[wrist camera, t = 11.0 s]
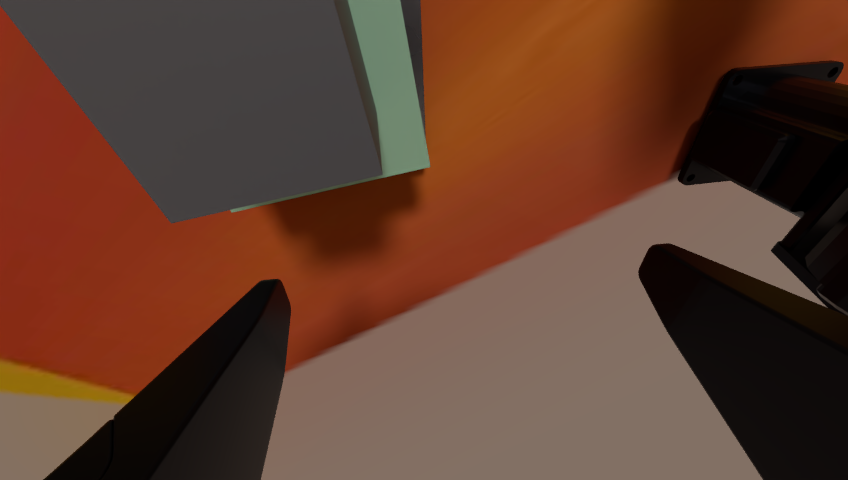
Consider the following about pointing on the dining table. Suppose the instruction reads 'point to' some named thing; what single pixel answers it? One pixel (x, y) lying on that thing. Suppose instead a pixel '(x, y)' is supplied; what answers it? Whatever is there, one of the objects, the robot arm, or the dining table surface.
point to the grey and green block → (237, 93)
